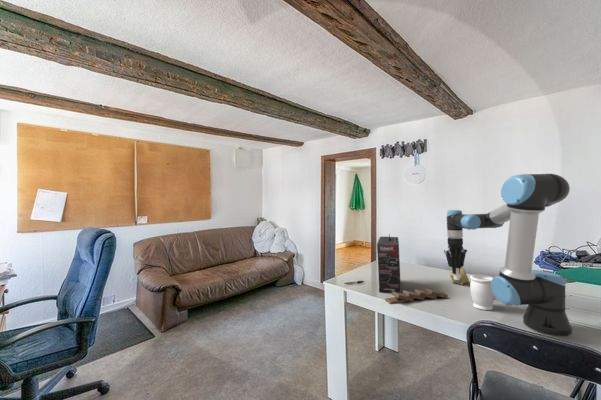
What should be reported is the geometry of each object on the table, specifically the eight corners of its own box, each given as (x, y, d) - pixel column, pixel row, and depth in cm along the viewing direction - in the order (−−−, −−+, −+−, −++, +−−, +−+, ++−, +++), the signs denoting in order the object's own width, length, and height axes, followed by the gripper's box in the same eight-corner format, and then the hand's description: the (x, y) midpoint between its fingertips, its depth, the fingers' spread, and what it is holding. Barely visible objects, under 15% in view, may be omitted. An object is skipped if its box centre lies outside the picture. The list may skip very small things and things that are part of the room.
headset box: (400, 294, 155) (399, 237, 154) (377, 292, 159) (376, 237, 159) (400, 281, 178) (399, 231, 178) (380, 280, 182) (379, 231, 182)
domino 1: (401, 296, 149) (385, 298, 147) (406, 299, 144) (390, 301, 142) (401, 299, 149) (385, 301, 147) (406, 302, 144) (390, 305, 142)
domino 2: (407, 294, 149) (392, 291, 146) (413, 297, 144) (398, 294, 142) (406, 297, 149) (391, 294, 146) (412, 301, 144) (397, 298, 141)
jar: (472, 301, 142) (471, 273, 142) (496, 305, 136) (495, 276, 135) (469, 308, 134) (468, 278, 134) (494, 313, 127) (494, 281, 127)
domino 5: (442, 291, 152) (426, 288, 151) (448, 295, 147) (431, 291, 146) (441, 295, 152) (425, 291, 151) (447, 298, 147) (430, 294, 146)
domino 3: (418, 293, 151) (403, 290, 149) (424, 296, 146) (409, 293, 144) (417, 296, 151) (402, 293, 149) (423, 300, 146) (408, 296, 144)
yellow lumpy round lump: (468, 290, 167) (474, 277, 171) (462, 279, 162) (468, 265, 166) (451, 286, 175) (457, 273, 179) (445, 275, 170) (451, 262, 174)
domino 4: (431, 292, 152) (415, 289, 151) (436, 295, 147) (420, 292, 146) (430, 295, 152) (414, 292, 151) (436, 299, 147) (419, 295, 146)
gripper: (460, 236, 156) (461, 276, 156) (440, 237, 154) (441, 278, 154) (470, 237, 148) (472, 280, 148) (449, 239, 146) (450, 282, 146)
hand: (456, 279), depth 151 cm, fingers closed
